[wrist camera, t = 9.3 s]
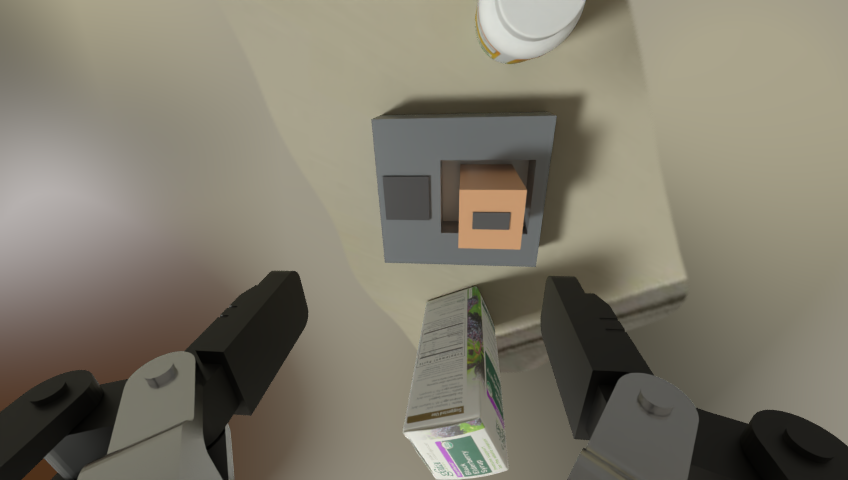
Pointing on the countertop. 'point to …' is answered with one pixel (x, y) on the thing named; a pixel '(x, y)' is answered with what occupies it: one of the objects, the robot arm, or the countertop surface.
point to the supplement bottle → (524, 27)
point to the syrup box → (457, 390)
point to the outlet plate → (455, 181)
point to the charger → (490, 207)
